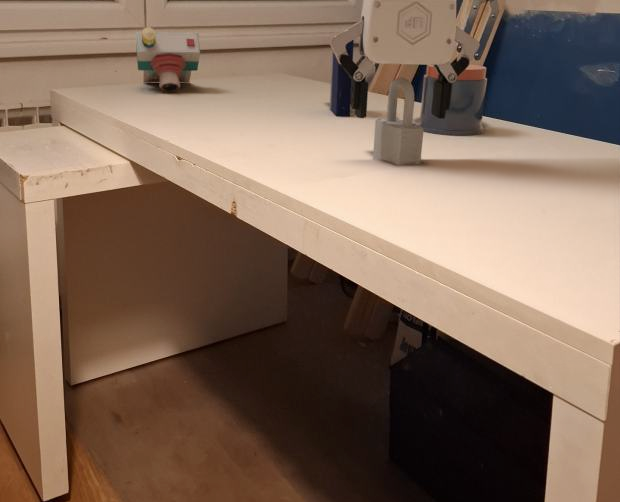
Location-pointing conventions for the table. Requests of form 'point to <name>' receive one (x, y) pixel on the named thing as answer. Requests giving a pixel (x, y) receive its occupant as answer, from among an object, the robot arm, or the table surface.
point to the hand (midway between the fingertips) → (399, 116)
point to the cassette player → (341, 85)
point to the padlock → (398, 129)
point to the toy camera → (167, 57)
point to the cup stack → (456, 103)
